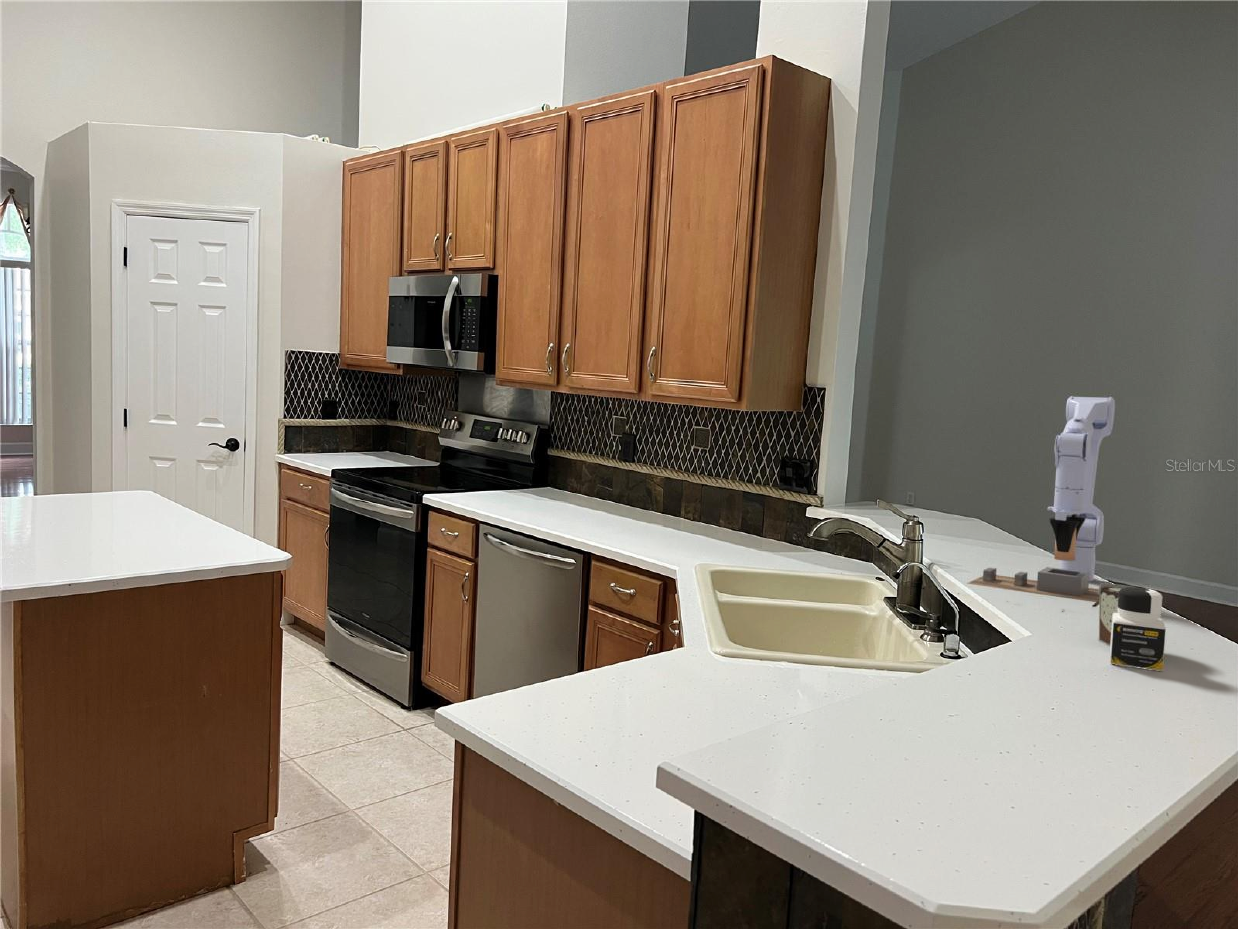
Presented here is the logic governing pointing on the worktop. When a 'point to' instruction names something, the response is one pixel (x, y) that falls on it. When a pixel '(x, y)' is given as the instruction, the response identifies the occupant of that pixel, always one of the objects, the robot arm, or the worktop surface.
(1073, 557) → the peg
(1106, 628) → the food container
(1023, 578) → the dock board
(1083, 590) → the socket
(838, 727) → the worktop surface
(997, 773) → the worktop surface
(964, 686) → the worktop surface
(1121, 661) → the medicine bottle
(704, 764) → the worktop surface
